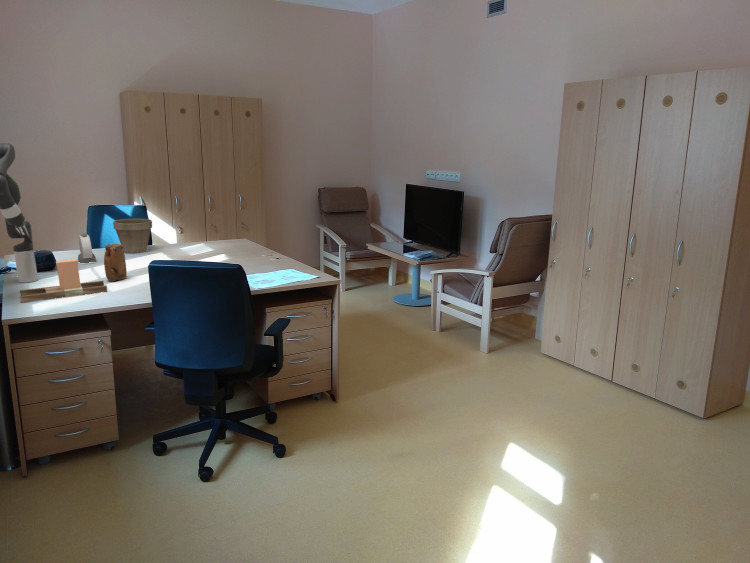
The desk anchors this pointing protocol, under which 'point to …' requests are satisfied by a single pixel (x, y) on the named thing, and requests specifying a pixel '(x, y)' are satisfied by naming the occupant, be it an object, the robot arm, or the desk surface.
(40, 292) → the track
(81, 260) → the grey piece
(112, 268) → the block
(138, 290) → the desk surface
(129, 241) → the plant pot
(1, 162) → the robot arm
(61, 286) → the block
